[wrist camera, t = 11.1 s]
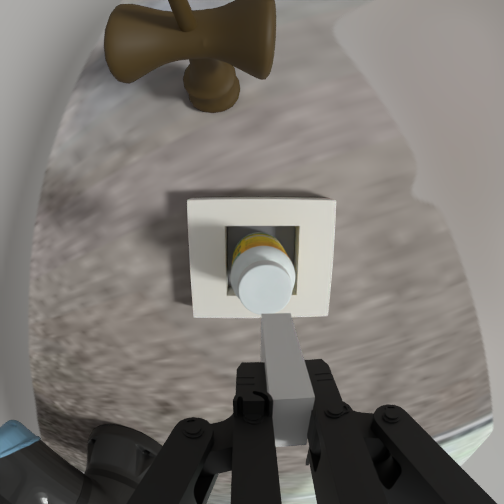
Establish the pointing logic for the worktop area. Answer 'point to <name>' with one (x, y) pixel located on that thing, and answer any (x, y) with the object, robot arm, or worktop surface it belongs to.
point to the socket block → (265, 221)
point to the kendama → (194, 46)
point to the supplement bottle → (262, 274)
